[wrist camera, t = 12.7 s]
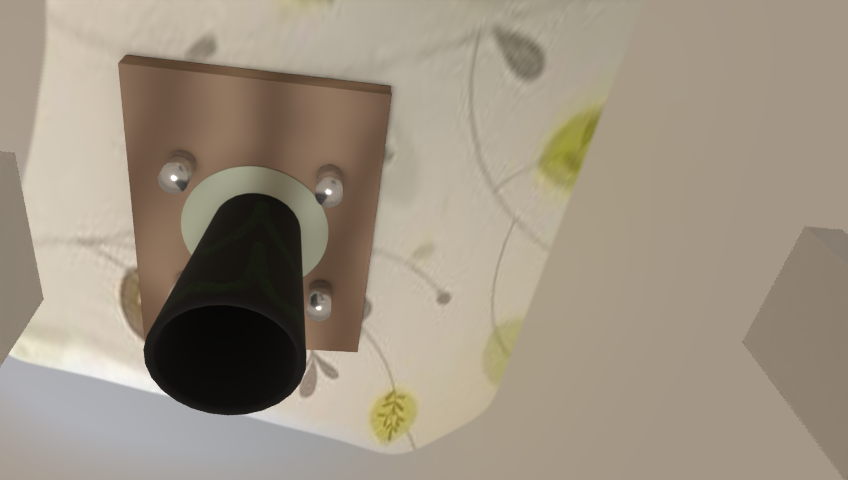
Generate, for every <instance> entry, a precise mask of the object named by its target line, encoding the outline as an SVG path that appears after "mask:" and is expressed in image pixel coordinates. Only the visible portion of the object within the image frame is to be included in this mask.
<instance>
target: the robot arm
mask: <svg viewBox="0 0 848 480" xmlns="http://www.w3.org/2000/svg"><path fill="white" fill-rule="evenodd" d="M42 301H43V294H42V289H41V284H40V279H39V274H38V269H37V263H36V258H35V253H34V248H33V243H32V238H31V233H30V228H29V223H28V218H27V213H26V207H25V202H24V197H23V192H22V187H21V182H20V177H19V172H18V167H17V162H16V156H15V153H12V152H1V151H0V366H1V365H2V363H3V362H4V360H5V358H6V357H7V355H8V354H9V352H10V351H11V349H12V348H13V346H14V344H15V343H16V341H17V340H18V338H19V337H20V335H21V334H22V332H23V330H24V329H25V327H26V326H27V324H28V323H29V321H30V320H31V318H32V316H33V315H34V313H35V312H36V310H37V309H38V307H39V306H40V304H41V302H42ZM742 342H743V344H744V345H745V346H746V348H747V349H748V351H749V352H750V353H751V354H752V356H753V357H754V359H755V360H756V361H757V363H758V364H759V365H760V367H761V368H762V369H763V371H764V372H765V373H766V375H767V376H768V378H769V379H770V380H771V382H772V383H773V384H774V386H775V387H776V388H777V390H778V391H779V392H780V394H781V395H782V396H783V398H784V399H785V401H786V402H787V403H788V405H789V406H790V407H791V409H792V410H793V411H794V413H795V414H796V415H797V417H798V418H799V420H800V421H801V422H802V424H803V425H804V426H805V428H806V429H807V430H808V432H809V433H810V434H811V436H812V437H813V438H814V440H815V441H816V443H817V444H818V445H819V447H820V448H821V449H822V451H823V452H824V453H825V455H826V456H827V457H828V459H829V460H830V461H831V463H832V464H833V466H834V467H835V468H836V470H837V471H838V472H839V474H840V475H841V476H842V478H843V479H844V480H848V234H847V233H845V232H844V231H843V230H838V229H828V228H817V227H807V226H806V227H804V229H803V230H802V233H801V234H800V236H799V238H798V240H797V242H796V243H795V245H794V247H793V249H792V251H791V253H790V254H789V257H788V258H787V260H786V262H785V264H784V266H783V267H782V269H781V271H780V273H779V275H778V277H777V278H776V280H775V282H774V284H773V286H772V288H771V290H770V291H769V293H768V295H767V297H766V299H765V301H764V302H763V304H762V306H761V308H760V310H759V312H758V314H757V315H756V317H755V319H754V321H753V323H752V325H751V327H750V328H749V330H748V332H747V334H746V336H745V338H744V339H743V341H742Z"/></svg>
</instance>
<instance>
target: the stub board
mask: <svg viewBox="0 0 848 480" xmlns="http://www.w3.org/2000/svg"><path fill="white" fill-rule="evenodd" d="M118 67H119V77H120V88H121V98H122V109H123V119H124V130H125V140H126V150H127V161H128V171H129V182H130V192H131V203H132V213H133V223H134V234H135V244H136V255H137V265H138V276H139V286H140V296H141V307H142V317H143V328H144V338H145V341H146V337H147V334H148V332H149V331H150V329H151V327H152V325H153V323H154V322H155V320H156V318H157V316H158V314H159V313H160V311H161V309H162V307H163V306H164V304H165V302H166V300H167V298H168V297H169V295H170V293H171V291H172V290H173V288H174V286H175V284H176V282H177V281H178V279H179V277H180V275H181V273H182V272H183V270H184V268H185V266H186V265H187V263H188V261H189V259H190V257H191V256H192V254H193V252H194V250H195V249H196V247H197V245H198V243H199V241H200V240H201V238H202V236H203V234H204V232H205V231H206V229H207V227H208V225H209V224H210V222H211V220H212V218H213V216H214V215H215V213H216V211H217V210H218V208H219V207H220V206H221V205H222V204H223V203H224V202H225V201H227V200H228V199H230V198H232V197H234V196H237V195H241V194H245V193H260V194H266V195H269V196H272V197H274V198H277V199H279V200H280V201H282V202H283V203H285V204H286V205H288V206H289V208H290V209H291V210H292V211H293V212H294V213H295V215H296V217H297V219H298V220H299V224H300V228H301V244H302V267H303V290H304V313H305V336H306V349H307V350H326V351H345V352H358V345H359V337H360V330H361V322H362V315H363V307H364V300H365V292H366V285H367V277H368V269H369V262H370V254H371V247H372V239H373V232H374V224H375V217H376V209H377V202H378V194H379V187H380V179H381V172H382V164H383V156H384V149H385V141H386V134H387V126H388V119H389V111H390V104H391V96H392V94H391V87H390V86H385V85H377V84H369V83H360V82H352V81H343V80H335V79H326V78H318V77H309V76H301V75H293V74H284V73H276V72H267V71H259V70H250V69H242V68H233V67H225V66H216V65H208V64H200V63H191V62H183V61H174V60H166V59H157V58H149V57H140V56H132V55H126V56H125V57H124V58H123V59H122V60H121V61H120V62H119V63H118Z"/></svg>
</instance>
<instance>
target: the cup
mask: <svg viewBox="0 0 848 480" xmlns="http://www.w3.org/2000/svg"><path fill="white" fill-rule="evenodd" d="M144 358H145V364H146V367H147V369H148V371H149V373H150V375H151V378H152V379H153V380H154V381H155V382H156V383H157V385H158V386H159V387H160V388H161V389H162V390H163V391H164V392H165V393H167V394H168V395H169V396H171V397H172V398H173V399H175V400H176V401H178V402H180V403H182V404H184V405H186V406H188V407H190V408H193V409H196V410H200V411H203V412H207V413H212V414H221V415H242V414H249V413H253V412H258V411H262V410H265V409H267V408H269V407H271V406H274V405H276V404H278V403H280V402H281V401H283V400H284V399H285V398H287V397H288V396H289V395H291V394H292V393H293V391H294V390H295V389H296V388H297V386H298V385H299V384H300V382H301V380H302V378H303V375H304V373H305V370H306V336H305V313H304V290H303V267H302V244H301V228H300V224H299V220H298V219H297V217H296V215H295V213H294V212H293V211H292V210H291V209H290V208H289V206H288V205H286V204H285V203H283V202H282V201H280V200H279V199H277V198H274V197H272V196H269V195H266V194H260V193H245V194H241V195H237V196H234V197H232V198H230V199H228V200H227V201H225V202H224V203H223V204H222V205H221V206H220V207H219V208H218V210H217V211H216V213H215V215H214V216H213V218H212V220H211V222H210V224H209V225H208V227H207V229H206V231H205V232H204V234H203V236H202V238H201V240H200V241H199V243H198V245H197V247H196V249H195V250H194V252H193V254H192V256H191V257H190V259H189V261H188V263H187V265H186V266H185V268H184V270H183V272H182V273H181V275H180V277H179V279H178V281H177V282H176V284H175V286H174V288H173V290H172V291H171V293H170V295H169V297H168V298H167V300H166V302H165V304H164V306H163V307H162V309H161V311H160V313H159V314H158V316H157V318H156V320H155V322H154V323H153V325H152V327H151V329H150V331H149V332H148V334H147V337H146V341H145V345H144Z"/></svg>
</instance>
